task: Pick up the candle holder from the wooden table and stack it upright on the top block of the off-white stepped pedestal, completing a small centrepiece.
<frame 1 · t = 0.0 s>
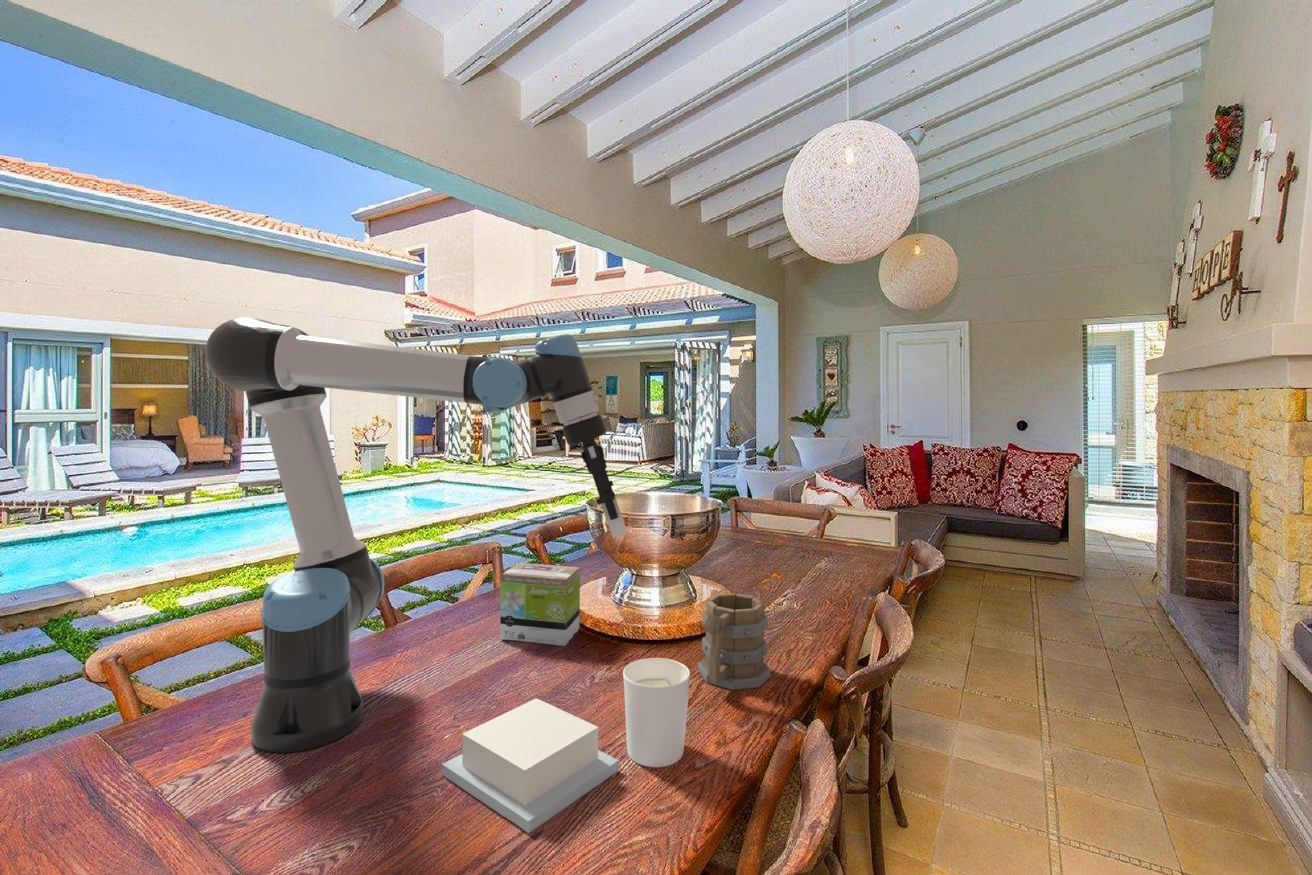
hand: (617, 527, 113), 28 cm above the table, tool tilted 20°, fingers open, 13 cm apart
pedestal: (531, 772, 84), on the table
tea box: (540, 636, 133), on the table
tankard: (725, 682, 112), on the table
candle holder: (655, 752, 90), on the table
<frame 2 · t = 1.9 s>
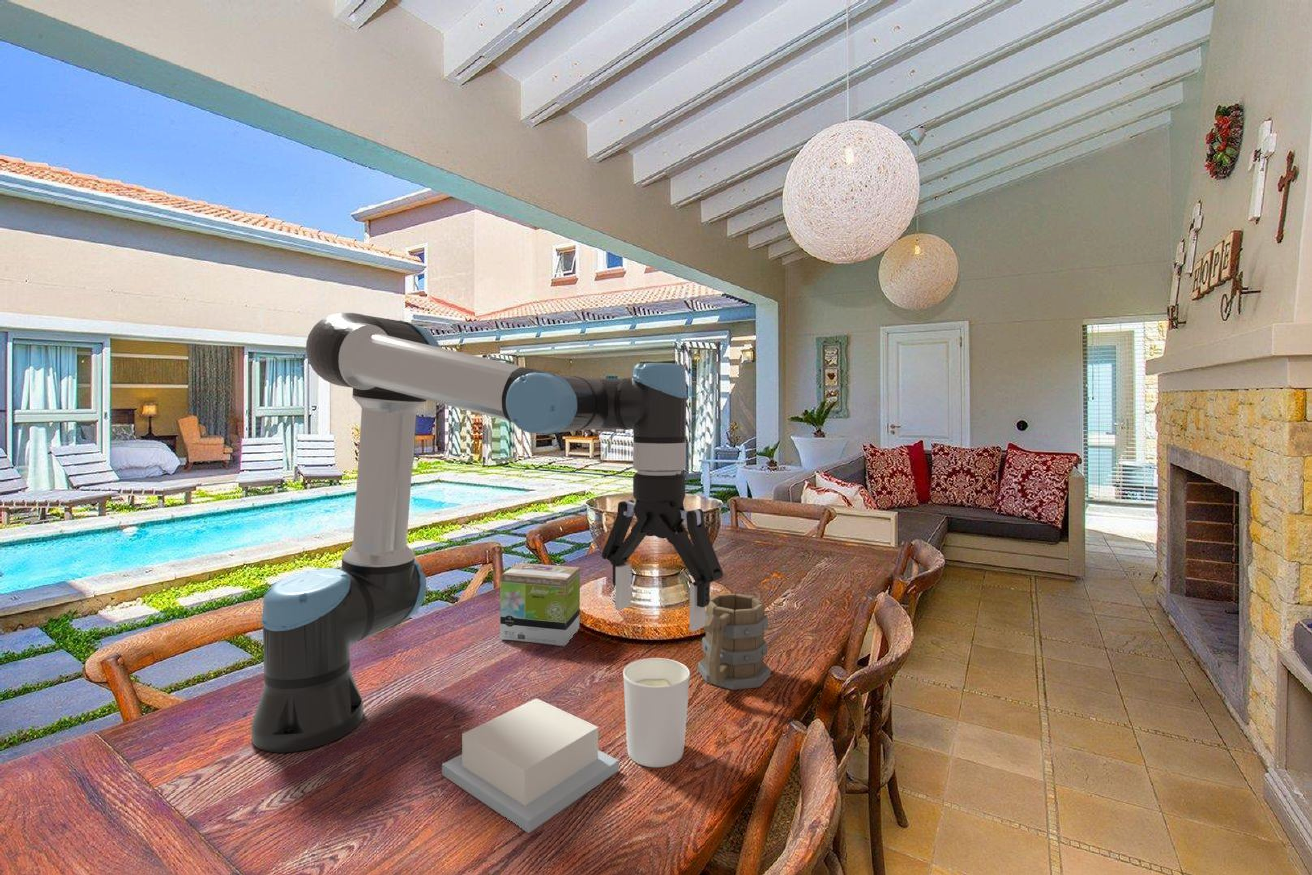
hand: (658, 617, 88), 20 cm above the table, tool pointing down, fingers open, 13 cm apart
nothing on the table moved.
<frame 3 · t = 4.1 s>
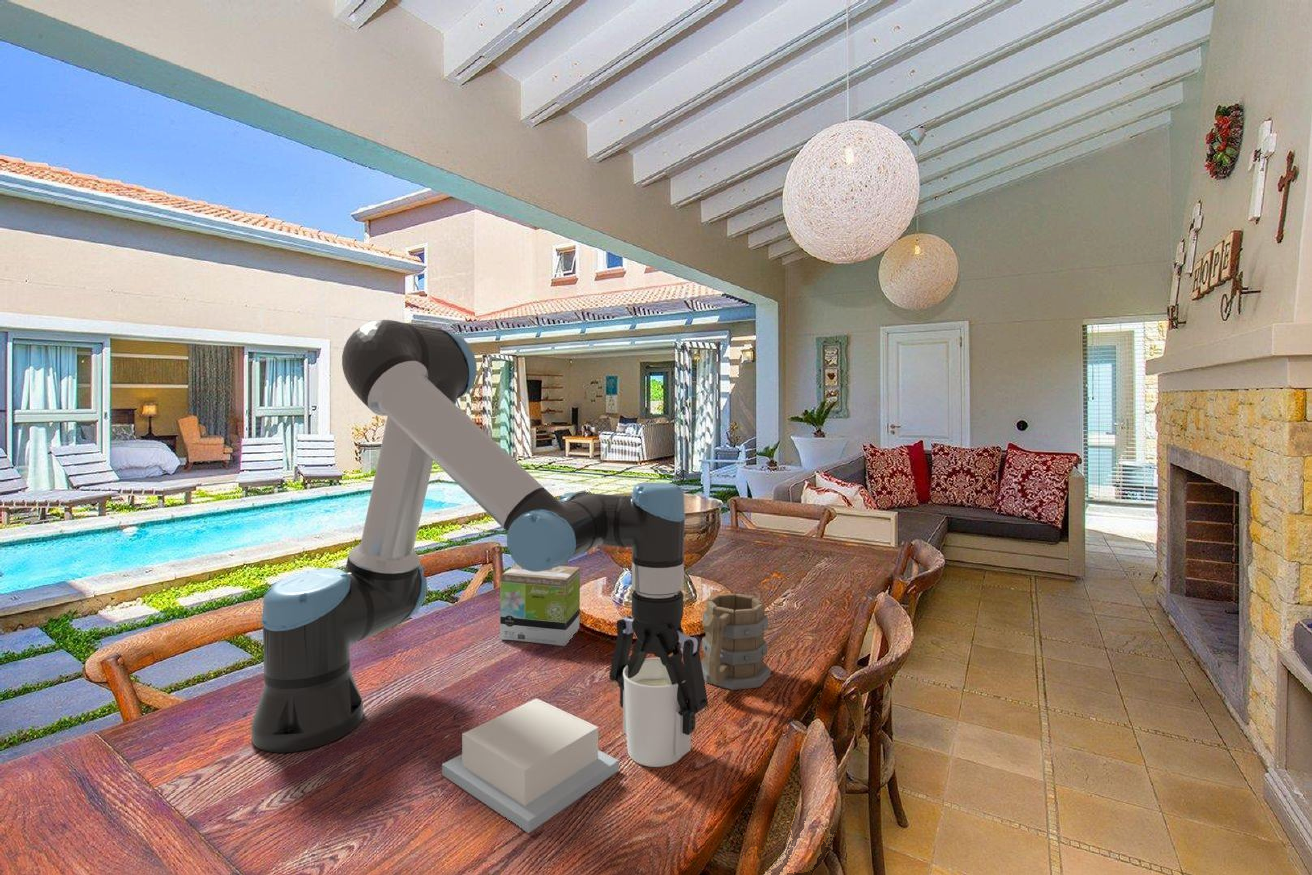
hand: (655, 740, 89), 2 cm above the table, tool pointing down, fingers closed on candle holder, 9 cm apart
candle holder: (655, 752, 90), on the table, touching gripper
everything else where it was.
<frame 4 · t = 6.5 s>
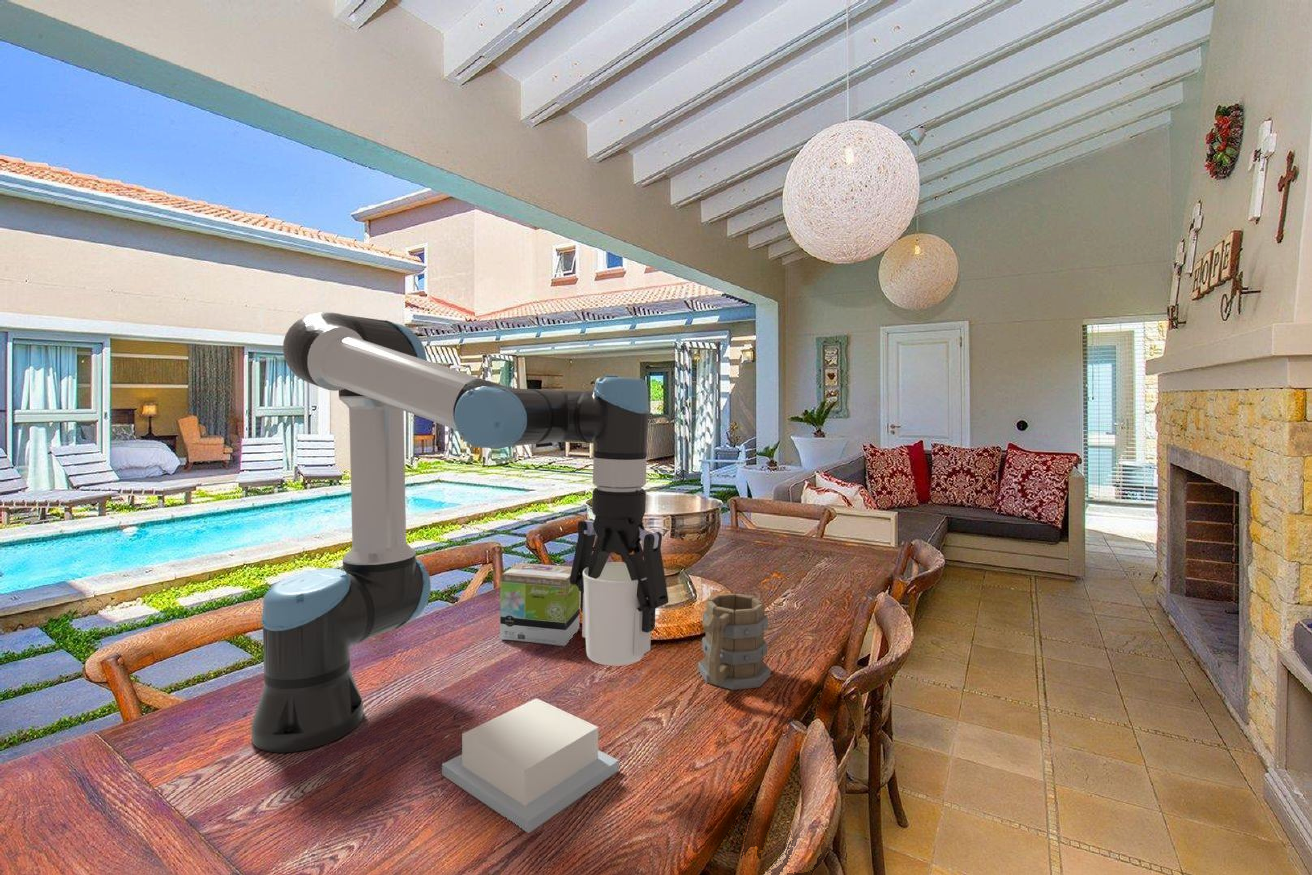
hand: (615, 643, 87), 17 cm above the table, tool pointing down, fingers closed on candle holder, 9 cm apart
candle holder: (615, 655, 87), point 15 cm above the table, touching gripper
everything else where it was.
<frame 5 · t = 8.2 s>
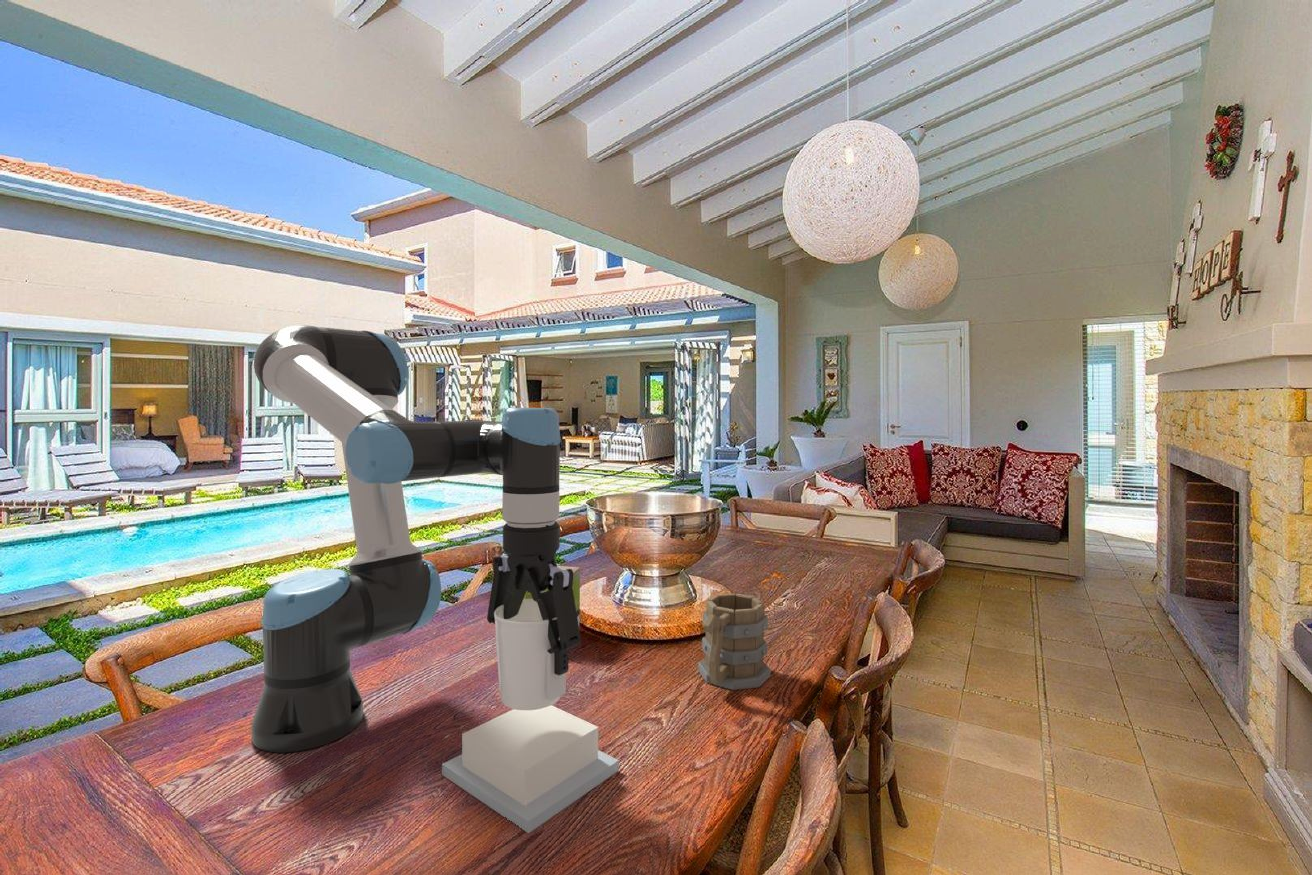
hand: (531, 685, 83), 12 cm above the table, tool pointing down, fingers closed on candle holder, 9 cm apart
candle holder: (531, 697, 83), point 11 cm above the table, touching gripper
everything else where it was.
when the fingers open (9 cm above the table, at t = 9.3 s): candle holder drops 1 cm, resting on pedestal.
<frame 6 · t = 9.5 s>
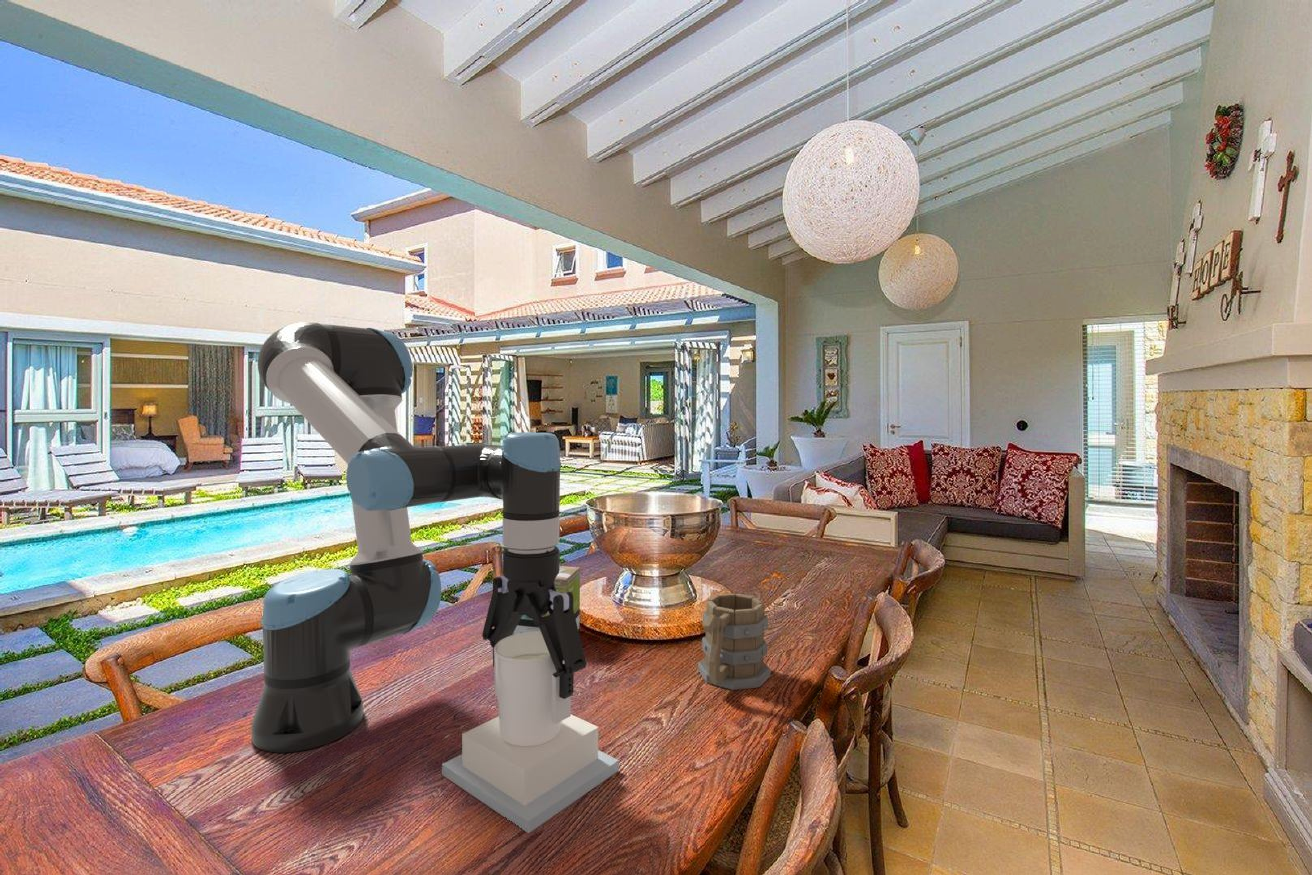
hand: (531, 704, 83), 10 cm above the table, tool pointing down, fingers open, 11 cm apart
candle holder: (531, 731, 84), point 6 cm above the table, touching pedestal
everything else where it was.
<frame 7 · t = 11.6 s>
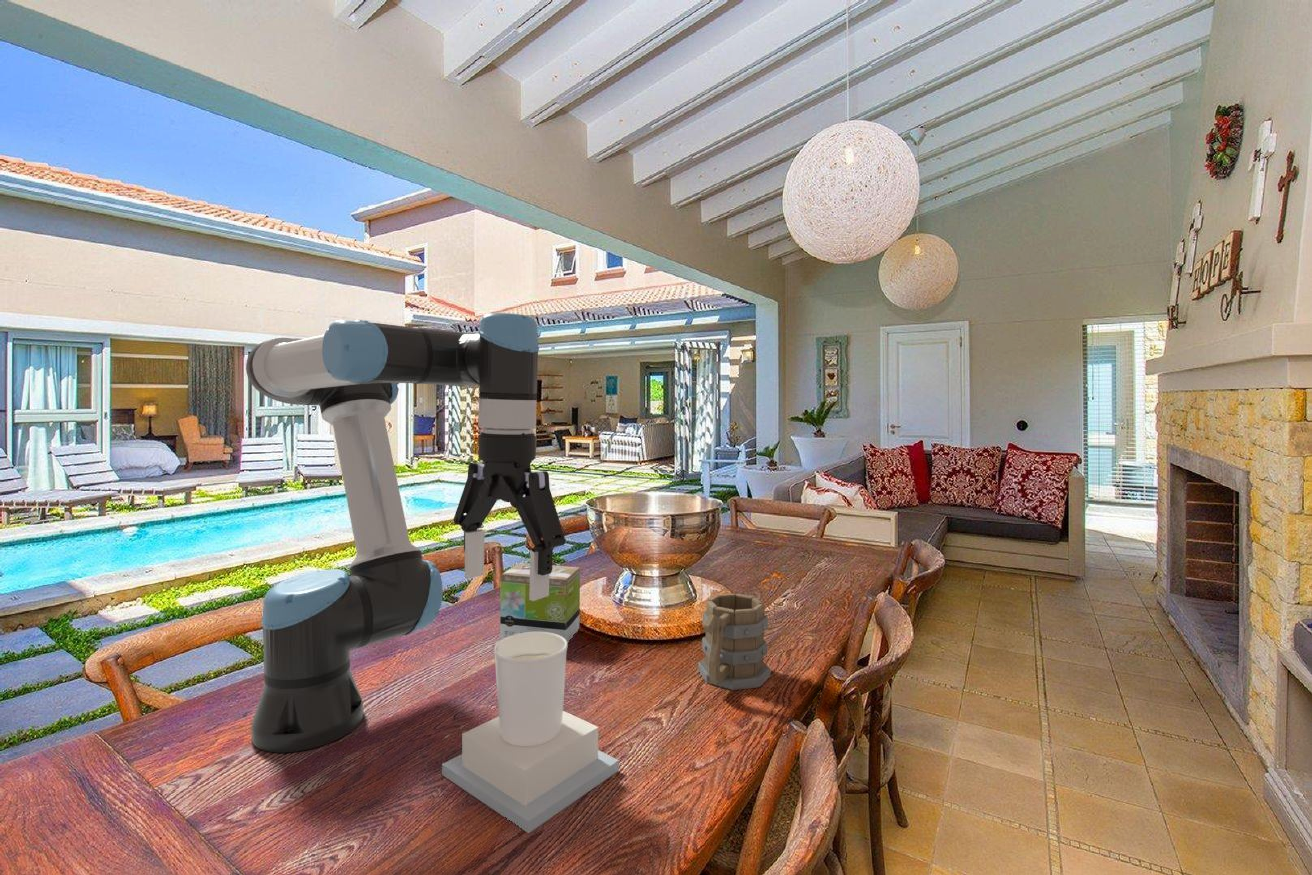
hand: (505, 586, 83), 26 cm above the table, tool pointing down, fingers open, 13 cm apart
nothing on the table moved.
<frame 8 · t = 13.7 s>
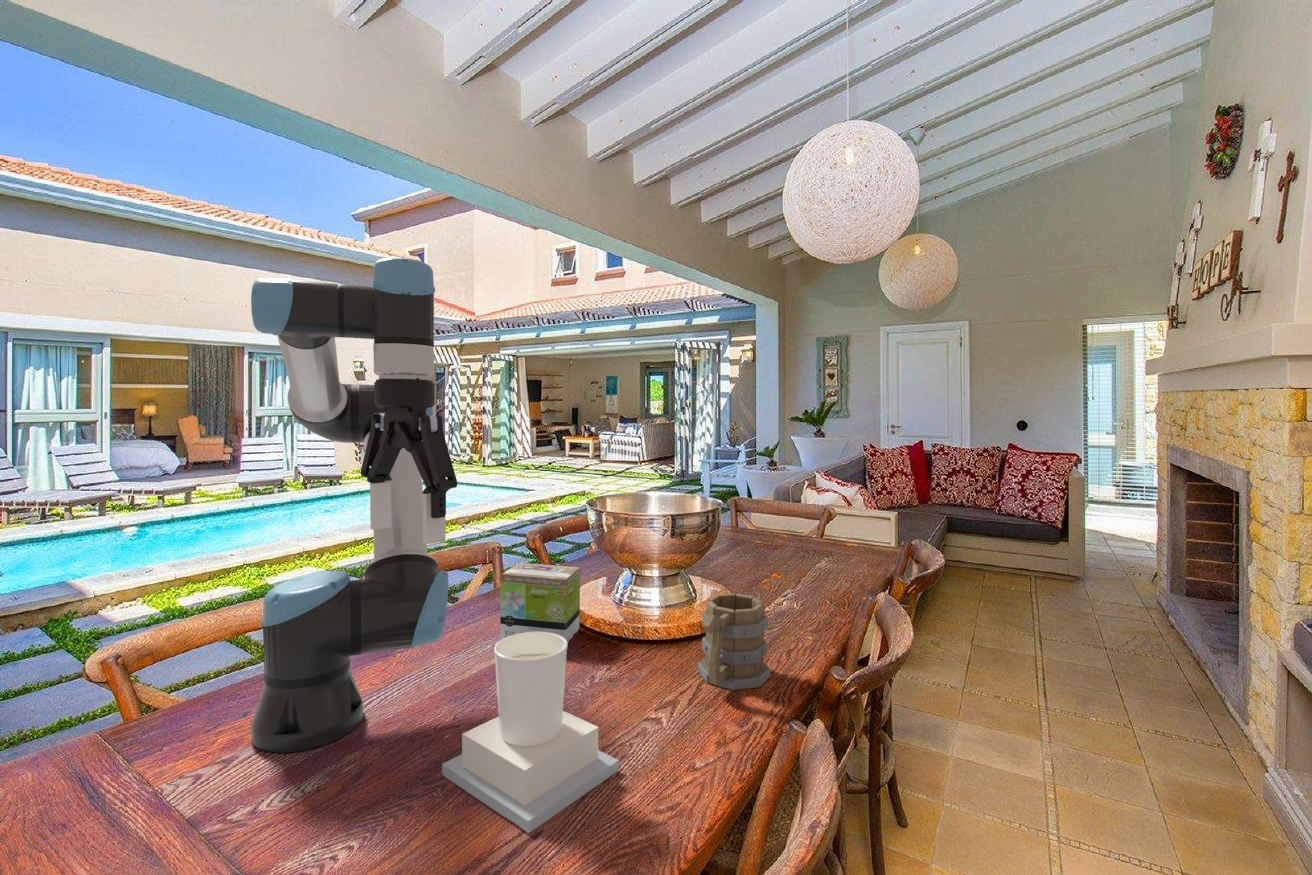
hand: (406, 535, 83), 33 cm above the table, tool pointing down, fingers open, 13 cm apart
nothing on the table moved.
at the end: candle holder inside the target area on the pedestal (0.0 cm from its centre), point 5.8 cm above the pedestal's base; candle holder tilted 0°; the gripper is holding nothing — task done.
